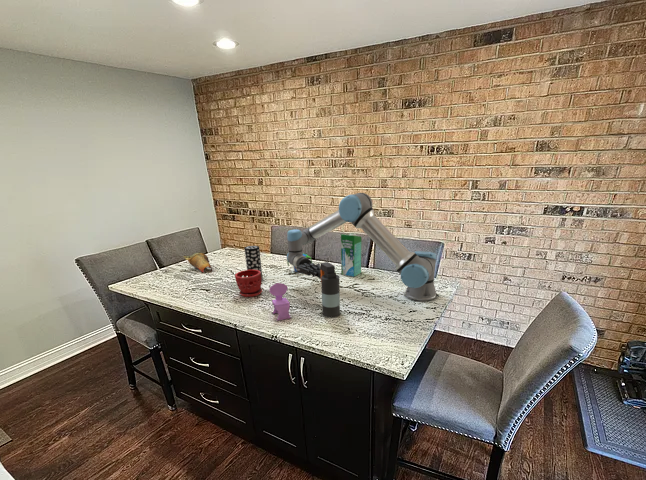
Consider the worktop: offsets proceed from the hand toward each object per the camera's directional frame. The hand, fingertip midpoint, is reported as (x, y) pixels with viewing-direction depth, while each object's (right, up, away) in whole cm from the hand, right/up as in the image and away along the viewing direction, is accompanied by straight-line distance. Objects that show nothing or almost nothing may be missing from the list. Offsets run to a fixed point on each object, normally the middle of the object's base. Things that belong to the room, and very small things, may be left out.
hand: (322, 276), depth 156 cm
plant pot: (-39, -8, +23) cm, 46 cm away
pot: (-83, +9, +66) cm, 106 cm away
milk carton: (+16, +5, +52) cm, 55 cm away
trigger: (+1, -3, -1) cm, 4 cm away
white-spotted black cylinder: (-41, 0, +43) cm, 60 cm away
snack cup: (-16, +8, +59) cm, 62 cm away
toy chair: (-18, -18, -2) cm, 26 cm away
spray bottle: (+4, -17, 0) cm, 17 cm away
